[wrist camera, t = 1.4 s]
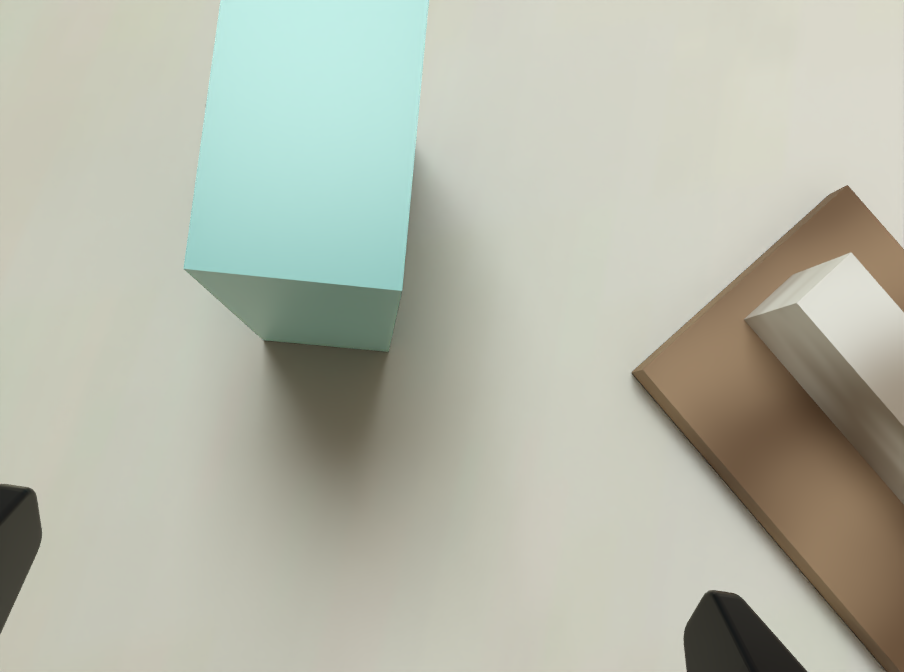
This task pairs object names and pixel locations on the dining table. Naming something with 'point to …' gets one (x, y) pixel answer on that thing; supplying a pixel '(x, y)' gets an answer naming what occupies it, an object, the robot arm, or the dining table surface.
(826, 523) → the rail board
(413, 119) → the teal rectangular block
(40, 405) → the dining table surface
